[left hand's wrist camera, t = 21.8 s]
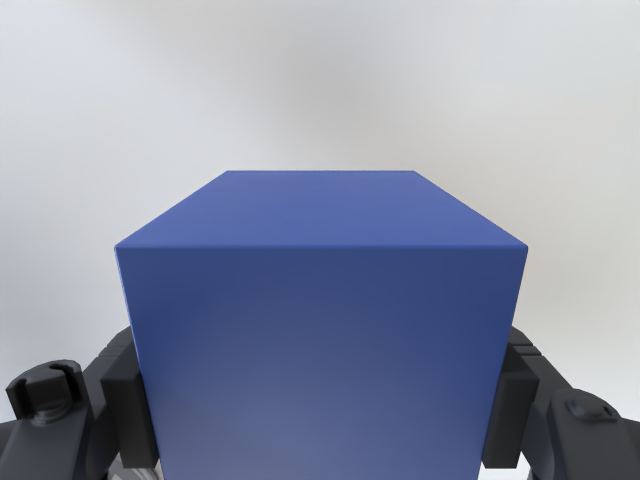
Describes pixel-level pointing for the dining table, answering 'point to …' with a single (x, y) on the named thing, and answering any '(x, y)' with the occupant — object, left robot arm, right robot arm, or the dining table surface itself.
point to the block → (320, 327)
